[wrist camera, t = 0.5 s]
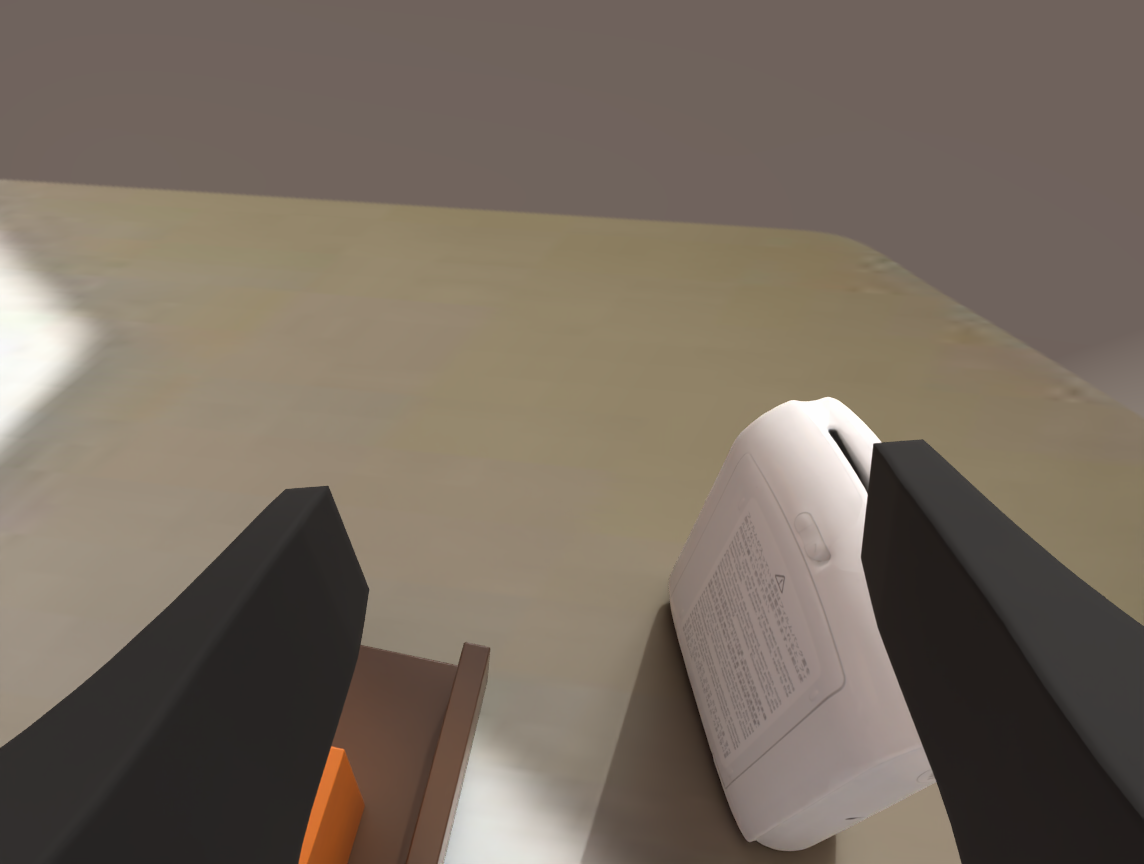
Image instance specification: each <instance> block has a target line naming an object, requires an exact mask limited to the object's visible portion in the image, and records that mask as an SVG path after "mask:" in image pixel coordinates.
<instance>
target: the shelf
mask: <svg viewBox="0 0 1144 864" xmlns="http://www.w3.org/2000/svg"><path fill="white" fill-rule="evenodd" d="M489 657H490V648H489V647H486V646H481V645H476V644H472V643H467V642H465V643H464V645H463V648H462V652H461V656H460V660H459V664H458V665H453V664H449V663H444V662H439V661H434V660H430V659H425V658H420V657H415V656H411V655H406V654H401V653H396V652H392V651H387V650H382V649H378V648H373V647H368V646H363V645H360V650H359V655H358V659H357V663H356V666H355V670H354V673H353V677H352V680H351V683H350V687H349V690H348V693H347V697H346V700H345V703H344V707H343V710H342V713H341V717H340V720H339V723H338V726H337V729H336V733H335V736H334V739H333V742H332V747H336V748H341V749H344V750H345V752H346V755H347V758H348V761H349V763H350V766H351V769H352V771H353V774H354V777H355V780H356V782H357V785H358V788H359V791H360V793H361V796H362V799H363V801H364V804H365V807H364V810H363V814H362V817H361V820H360V824H359V827H358V830H357V833H356V837H355V840H354V843H353V847H352V850H351V853H350V857H349V860H348V863H347V864H444V860H445V856H446V851H447V847H448V843H449V839H450V835H451V831H452V826H453V822H454V818H455V814H456V810H457V806H458V801H459V797H460V793H461V789H462V785H463V781H464V776H465V772H466V768H467V764H468V760H469V756H470V751H471V747H472V743H473V739H474V735H475V731H476V726H477V722H478V718H479V714H480V710H481V706H482V701H483V697H484V693H485V689H486V685H487V679H488V669H489Z"/></svg>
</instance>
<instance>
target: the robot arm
mask: <svg viewBox="0 0 1144 864" xmlns="http://www.w3.org/2000/svg"><path fill="white" fill-rule="evenodd" d="M861 561H862V566H863V570H864V574H865V578H866V583H867V587H868V591H869V596H870V600H871V604H872V607H873V611H874V615H875V619H876V623H877V627H878V630H879V633H880V635H881V638H882V641H883V644H884V646H885V649H886V652H887V654H888V657H889V660H890V662H891V665H892V668H893V670H894V673H895V675H896V678H897V681H898V683H899V686H900V689H901V691H902V694H903V696H904V699H905V702H906V704H907V707H908V709H909V712H910V715H911V717H912V720H913V722H914V725H915V728H916V730H917V733H918V735H919V738H920V741H921V743H922V746H923V748H924V751H925V754H926V756H927V759H928V761H929V764H930V767H931V769H932V772H933V774H934V777H935V780H936V782H937V785H938V787H939V790H940V793H941V796H942V799H943V802H944V805H945V808H946V811H947V814H948V817H949V820H950V823H951V826H952V830H953V834H954V837H955V841H956V844H957V848H958V852H959V855H960V859H961V863H962V864H1144V626H1143V625H1141V624H1140V623H1139V622H1137V621H1136V620H1134V619H1133V618H1132V617H1130V616H1129V615H1127V614H1126V613H1125V612H1123V611H1122V610H1121V609H1119V608H1118V607H1117V606H1115V605H1114V604H1113V603H1112V602H1110V601H1109V600H1108V599H1106V598H1105V597H1104V596H1102V595H1101V594H1100V593H1098V592H1097V591H1096V590H1095V589H1093V588H1092V587H1091V586H1089V585H1088V584H1087V583H1085V582H1084V581H1083V580H1082V579H1080V578H1079V577H1078V576H1076V575H1075V574H1074V573H1073V572H1072V571H1070V570H1069V569H1068V568H1067V567H1065V566H1064V565H1063V564H1062V563H1060V562H1059V561H1058V560H1057V559H1056V558H1055V557H1053V556H1052V555H1051V554H1050V553H1049V552H1048V551H1046V550H1045V549H1044V548H1043V547H1042V546H1041V545H1039V544H1038V543H1037V542H1036V541H1035V540H1033V539H1032V538H1031V537H1030V536H1029V535H1028V534H1026V533H1025V532H1024V531H1023V530H1022V529H1021V528H1019V527H1018V526H1017V525H1016V524H1015V523H1014V522H1013V521H1012V520H1010V519H1009V518H1008V517H1007V516H1006V515H1005V514H1004V513H1003V512H1001V511H1000V510H999V509H998V508H997V507H996V506H995V505H994V504H993V503H992V502H990V501H989V500H988V499H987V498H986V497H985V496H984V495H983V494H982V493H981V492H979V491H978V490H977V489H976V488H975V487H974V486H973V485H972V484H971V483H970V482H969V481H968V480H967V479H965V478H964V477H963V476H962V475H961V474H960V473H959V472H958V471H957V470H956V469H955V468H954V467H953V466H952V465H950V464H949V463H948V462H947V461H946V460H945V459H944V458H943V457H942V456H941V455H940V454H939V453H938V452H936V451H935V450H934V449H933V448H932V447H931V446H930V445H929V444H928V443H926V442H925V441H924V440H910V441H897V442H884V443H873V451H872V460H871V469H870V478H869V487H868V496H867V505H866V514H865V523H864V532H863V541H862V550H861ZM368 594H369V588H368V585H367V583H366V580H365V578H364V575H363V572H362V570H361V567H360V565H359V562H358V560H357V557H356V555H355V552H354V550H353V547H352V545H351V542H350V540H349V537H348V535H347V532H346V529H345V527H344V524H343V522H342V519H341V517H340V514H339V512H338V509H337V507H336V504H335V502H334V499H333V497H332V494H331V492H330V489H329V486H320V487H307V488H294V489H285V490H284V491H283V492H282V493H281V494H280V495H279V496H278V497H277V498H276V499H275V500H273V501H272V502H271V503H270V504H269V505H268V506H267V507H266V508H265V509H264V510H263V511H262V512H261V513H260V514H259V515H258V516H257V517H256V518H255V519H254V520H253V521H252V522H251V523H250V524H249V526H248V527H247V528H246V529H245V530H244V531H243V532H242V533H241V534H240V535H239V536H238V537H237V538H236V539H235V540H234V541H233V542H232V543H231V544H230V545H229V546H228V547H227V548H226V549H225V550H224V551H223V552H222V553H221V554H220V555H219V556H218V557H217V558H216V559H215V560H214V561H213V562H212V563H211V564H210V565H209V566H208V567H207V568H206V569H205V570H204V571H203V572H202V573H201V574H200V575H199V576H198V577H197V578H196V579H195V580H194V581H193V582H192V583H191V584H190V585H189V586H188V587H187V588H186V589H185V590H184V591H183V592H182V593H181V594H180V595H179V596H178V597H177V598H176V599H175V600H174V601H173V602H172V603H171V604H170V605H169V606H168V607H167V608H166V609H165V610H164V611H163V612H161V613H160V614H159V615H158V616H157V617H156V618H155V619H154V620H153V621H152V622H151V623H150V624H148V625H147V626H146V627H145V628H144V629H143V630H142V631H141V632H140V633H139V634H138V635H137V636H136V637H134V638H133V639H132V640H131V641H130V642H129V643H128V644H127V645H126V646H125V647H124V648H123V649H122V650H120V651H119V652H118V653H117V654H116V655H115V656H114V657H113V658H112V659H111V660H110V661H108V662H107V663H106V664H105V665H104V666H103V667H102V668H100V669H99V670H98V671H97V672H96V673H95V674H93V675H92V676H91V677H90V678H89V679H88V680H86V681H85V682H84V683H83V684H82V685H80V686H79V687H78V688H77V689H76V690H74V691H73V692H72V693H71V694H70V695H68V696H67V697H66V698H65V699H63V700H62V701H61V702H60V703H58V704H57V705H56V706H55V707H53V708H52V709H51V710H50V711H48V712H47V713H46V714H45V715H43V716H42V717H41V718H39V719H38V720H37V721H36V722H34V723H33V724H32V725H31V726H29V727H28V728H27V729H25V730H24V731H23V732H21V733H20V734H19V735H18V736H16V737H15V738H14V739H12V740H11V741H9V742H8V743H7V744H5V745H4V746H2V747H1V748H0V864H299V859H300V854H301V849H302V844H303V841H304V837H305V833H306V829H307V825H308V822H309V818H310V814H311V810H312V807H313V804H314V801H315V797H316V794H317V791H318V788H319V784H320V781H321V778H322V775H323V771H324V768H325V765H326V762H327V759H328V755H329V752H330V749H331V746H332V742H333V739H334V736H335V733H336V729H337V726H338V723H339V720H340V717H341V713H342V710H343V707H344V703H345V700H346V697H347V693H348V690H349V687H350V683H351V680H352V677H353V673H354V670H355V666H356V663H357V659H358V655H359V650H360V644H361V638H362V633H363V627H364V621H365V614H366V607H367V601H368Z"/></svg>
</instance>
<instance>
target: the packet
mask: <svg viewBox="0 0 1144 864" xmlns="http://www.w3.org/2000/svg"><path fill="white" fill-rule="evenodd" d="M364 807H365V804H364V801H363V799H362V796H361V793H360V791H359V788H358V785H357V782H356V780H355V777H354V774H353V771H352V769H351V766H350V763H349V761H348V758H347V755H346V752H345V750H344V749H341V748H336V747H332V746H331V749H330V752H329V755H328V759H327V762H326V765H325V768H324V771H323V775H322V778H321V781H320V784H319V788H318V791H317V794H316V797H315V801H314V804H313V807H312V810H311V814H310V818H309V822H308V825H307V829H306V833H305V837H304V841H303V844H302V849H301V854H300V859H299V864H347V863H348V860H349V857H350V853H351V850H352V847H353V843H354V840H355V837H356V833H357V830H358V827H359V824H360V820H361V817H362V814H363V810H364Z"/></svg>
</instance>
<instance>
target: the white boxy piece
mask: <svg viewBox="0 0 1144 864" xmlns="http://www.w3.org/2000/svg"><path fill="white" fill-rule="evenodd" d="M873 443H881V441H880V440H879V439H878V438H877V436H876V435H875V434H874V433H873V432H872V431H871V430H870V429H869V428H868V426H867V425H866V424H865V423H864V422H863V421H862V420H861V419H860V418H859V417H858V416H856V415H855V414H854V413H853V412H852V411H851V410H850V409H849V408H847V407H846V406H845V405H844V404H843V403H841V402H840V401H838V400H836V399H834V398H830V397H825V398H822V399H819V400H815V401H808V402H802V401H796V400H792V401H788V402H786V403H783V404H781V405H779V406H777V407H775V408H773V409H772V410H770V411H768V412H766V413H764V414H763V415H762V416H760V417H759V418H757V419H756V420H755V421H754V422H752V423H751V424H750V425H749V426H748V427H747V428H745V429H744V430H743V431H742V432H741V433H740V435H739V436H738V437H737V438H736V440H735V441H734V443H733V445H732V447H731V449H730V451H729V453H728V455H727V457H726V460H725V462H724V464H723V466H722V468H721V470H720V472H719V474H718V476H717V479H716V480H715V483H714V485H713V487H712V489H711V491H710V493H709V495H708V497H707V499H706V501H705V504H704V506H703V508H702V510H701V512H700V514H699V516H698V518H697V520H696V522H695V524H694V526H693V528H692V530H691V533H690V535H689V537H688V539H687V541H686V543H685V545H684V547H683V549H682V551H681V553H680V556H679V557H678V559H677V561H676V563H675V565H674V567H673V570H672V572H671V574H670V578H669V598H670V606H671V612H672V617H673V621H674V625H675V629H676V632H677V637H678V641H679V644H680V648H681V651H682V655H683V658H684V662H685V666H686V669H687V673H688V676H689V680H690V683H691V686H692V690H693V693H694V696H695V700H696V703H697V706H698V710H699V713H700V717H701V720H702V723H703V726H704V730H705V733H706V736H707V740H708V743H709V746H710V750H711V752H712V755H713V760H714V763H715V766H716V769H717V772H718V775H719V778H720V781H721V784H722V787H723V790H724V793H725V795H726V798H727V801H728V803H729V806H730V809H731V811H732V814H733V816H734V818H735V820H736V822H737V825H738V827H739V829H740V831H741V832H742V834H743V836H744V838H745V839H746V840H747V841H748V842H752V841H756V840H757V842H759V843H761V844H762V845H764V846H767V847H769V848H772V849H776V850H781V851H798V850H803V849H806V848H809V847H811V846H813V845H815V844H817V843H819V842H821V841H823V840H825V839H827V838H829V837H831V836H833V835H835V834H837V833H839V832H841V831H843V830H845V829H847V828H849V827H851V826H853V825H855V824H857V823H859V822H861V821H863V820H864V819H866V818H868V817H870V816H872V815H874V814H876V813H878V812H880V811H882V810H884V809H886V808H888V807H890V806H892V805H893V804H895V803H897V802H899V801H901V800H903V799H905V798H907V797H909V796H911V795H912V794H914V793H916V792H918V791H920V790H922V789H924V788H926V787H928V786H930V785H931V784H933V783H935V782H936V780H935V777H934V774H933V772H932V769H931V767H930V764H929V761H928V759H927V756H926V754H925V751H924V748H923V746H922V743H921V741H920V738H919V735H918V733H917V730H916V728H915V725H914V722H913V720H912V717H911V715H910V712H909V709H908V707H907V704H906V702H905V699H904V696H903V694H902V691H901V689H900V686H899V683H898V681H897V678H896V675H895V673H894V670H893V668H892V665H891V662H890V660H889V657H888V654H887V652H886V649H885V646H884V644H883V641H882V638H881V635H880V633H879V630H878V627H877V623H876V619H875V615H874V611H873V607H872V604H871V600H870V596H869V591H868V587H867V583H866V578H865V574H864V570H863V566H862V561H861V550H862V541H863V532H864V523H865V514H866V505H867V496H868V487H869V478H870V469H871V460H872V451H873Z"/></svg>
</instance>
